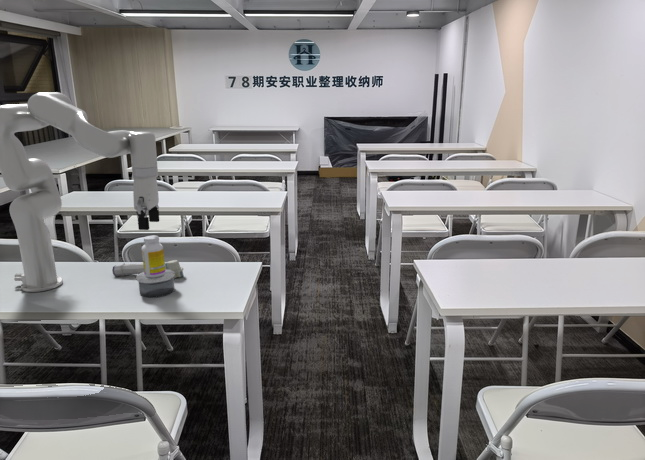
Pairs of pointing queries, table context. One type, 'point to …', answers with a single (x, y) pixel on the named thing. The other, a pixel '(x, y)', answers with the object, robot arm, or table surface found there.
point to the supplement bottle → (153, 257)
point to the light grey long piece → (139, 268)
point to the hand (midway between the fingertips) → (149, 225)
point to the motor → (156, 284)
